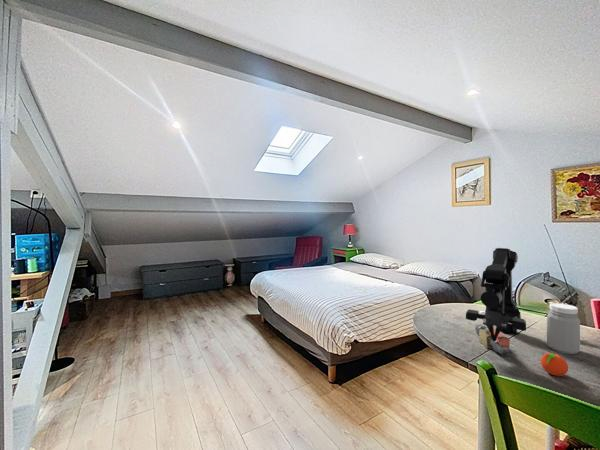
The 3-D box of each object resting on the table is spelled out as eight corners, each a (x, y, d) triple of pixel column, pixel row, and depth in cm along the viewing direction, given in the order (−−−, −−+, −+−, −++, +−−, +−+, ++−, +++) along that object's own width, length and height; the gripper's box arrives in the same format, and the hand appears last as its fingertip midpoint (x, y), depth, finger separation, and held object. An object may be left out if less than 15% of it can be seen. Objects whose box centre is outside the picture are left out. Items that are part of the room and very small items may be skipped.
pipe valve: (472, 334, 125) (472, 323, 125) (487, 335, 124) (487, 324, 124) (495, 356, 105) (495, 342, 105) (513, 358, 104) (513, 344, 104)
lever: (483, 329, 117) (484, 322, 117) (494, 330, 116) (494, 323, 116) (500, 347, 101) (500, 339, 101) (512, 348, 100) (512, 340, 100)
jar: (541, 346, 113) (542, 304, 113) (554, 342, 117) (554, 301, 117) (572, 357, 104) (573, 311, 104) (584, 352, 108) (585, 307, 108)
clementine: (559, 383, 88) (560, 361, 88) (534, 372, 95) (534, 352, 94) (572, 377, 91) (572, 356, 91) (547, 367, 98) (547, 347, 98)
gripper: (463, 301, 104) (463, 341, 104) (527, 312, 92) (526, 357, 93) (467, 295, 113) (467, 332, 113) (526, 304, 101) (525, 345, 101)
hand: (494, 341), depth 105 cm, fingers closed
